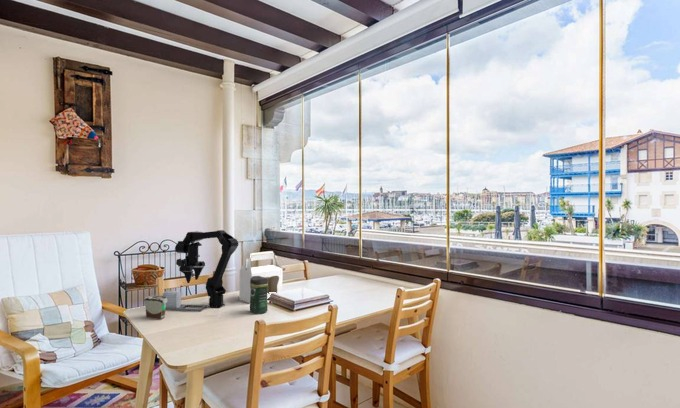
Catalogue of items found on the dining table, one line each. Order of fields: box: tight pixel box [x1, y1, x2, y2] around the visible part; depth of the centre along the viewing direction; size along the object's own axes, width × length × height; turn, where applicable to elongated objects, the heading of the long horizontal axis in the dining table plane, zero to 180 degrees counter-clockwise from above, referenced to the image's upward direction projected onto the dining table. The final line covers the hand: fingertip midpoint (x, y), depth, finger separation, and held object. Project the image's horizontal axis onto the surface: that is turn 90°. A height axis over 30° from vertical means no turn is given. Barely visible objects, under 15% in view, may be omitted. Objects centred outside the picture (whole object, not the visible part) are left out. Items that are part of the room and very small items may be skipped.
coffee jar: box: [249, 276, 268, 315], centre depth 191 cm, size 10×8×19 cm
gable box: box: [238, 250, 284, 304], centre depth 219 cm, size 22×13×28 cm, turn 136°
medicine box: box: [162, 290, 182, 308], centre depth 195 cm, size 8×4×9 cm, turn 85°
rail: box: [165, 303, 208, 313], centre depth 195 cm, size 24×8×1 cm, turn 85°
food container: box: [143, 294, 168, 321], centre depth 180 cm, size 12×6×10 cm, turn 71°
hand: (192, 281), depth 206 cm, fingers open, 9 cm apart
